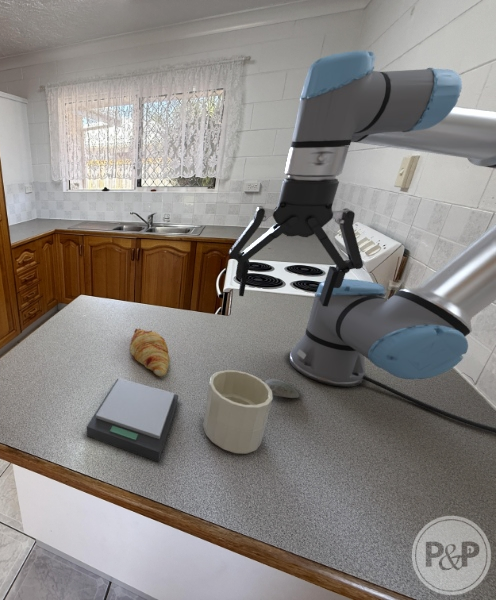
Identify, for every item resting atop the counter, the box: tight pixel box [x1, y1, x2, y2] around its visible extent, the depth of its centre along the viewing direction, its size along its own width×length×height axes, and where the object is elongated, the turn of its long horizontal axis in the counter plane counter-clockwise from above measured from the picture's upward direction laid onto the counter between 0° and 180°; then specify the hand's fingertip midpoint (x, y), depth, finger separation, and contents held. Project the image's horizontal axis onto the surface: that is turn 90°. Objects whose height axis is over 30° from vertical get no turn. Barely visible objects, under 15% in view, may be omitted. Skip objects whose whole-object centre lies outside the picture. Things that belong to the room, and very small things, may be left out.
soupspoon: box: [264, 378, 300, 399], centre depth 68 cm, size 22×3×7 cm
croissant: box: [129, 328, 171, 377], centre depth 83 cm, size 21×10×8 cm, turn 11°
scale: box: [86, 377, 179, 463], centre depth 63 cm, size 14×16×3 cm
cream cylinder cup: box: [202, 369, 274, 454], centre depth 58 cm, size 10×10×11 cm
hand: (280, 298), depth 58 cm, fingers open, 13 cm apart
